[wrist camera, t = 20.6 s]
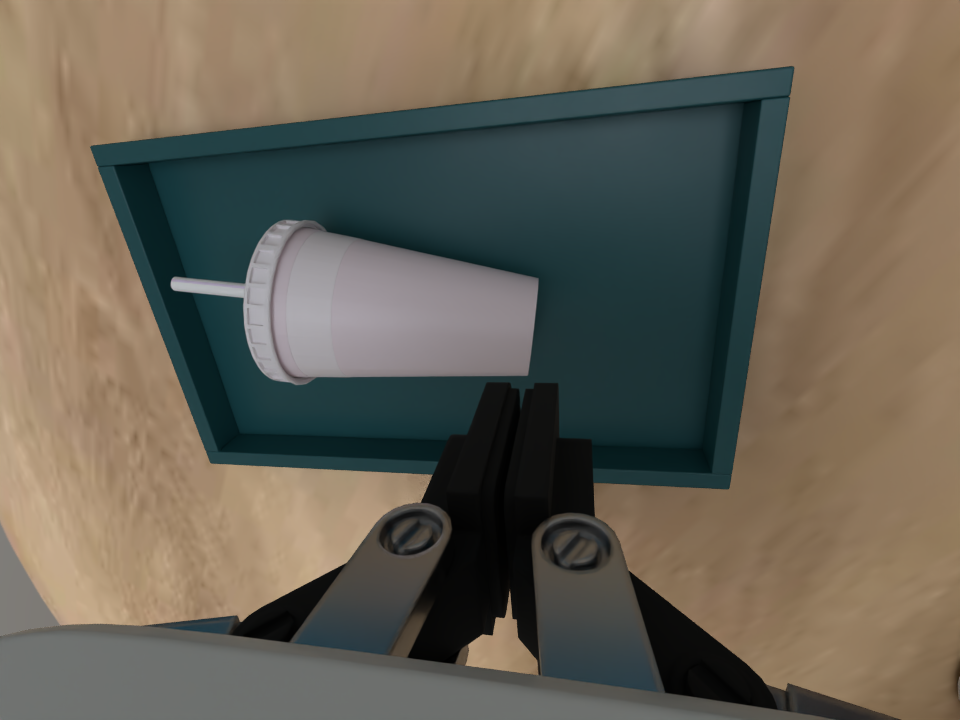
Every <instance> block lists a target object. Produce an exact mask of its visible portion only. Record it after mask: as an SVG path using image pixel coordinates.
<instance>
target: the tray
mask: <svg viewBox="0 0 960 720" xmlns="http://www.w3.org/2000/svg"><path fill="white" fill-rule="evenodd" d="M793 73H794V67H793V66H789V67H781V68H772V69H763V70H754V71H745V72H737V73H728V74H719V75H710V76H701V77H693V78H684V79H675V80H666V81H657V82H648V83H640V84H631V85H622V86H613V87H604V88H596V89H587V90H578V91H569V92H560V93H552V94H543V95H534V96H525V97H516V98H508V99H499V100H490V101H481V102H472V103H463V104H455V105H446V106H437V107H428V108H419V109H411V110H402V111H393V112H384V113H375V114H367V115H358V116H349V117H340V118H331V119H323V120H314V121H305V122H296V123H287V124H278V125H270V126H261V127H252V128H243V129H234V130H226V131H217V132H208V133H199V134H190V135H182V136H173V137H164V138H155V139H146V140H138V141H129V142H120V143H111V144H102V145H94V146H91V147H90V148H91V151H92V153H93V156H94V158H95V161H96V164H97V166H98V169H99V172H100V175H101V177H102V180H103V183H104V185H105V188H106V190H107V193H108V196H109V198H110V201H111V204H112V206H113V209H114V211H115V214H116V217H117V219H118V222H119V225H120V227H121V230H122V232H123V235H124V238H125V240H126V243H127V246H128V248H129V251H130V253H131V256H132V259H133V261H134V264H135V267H136V269H137V272H138V274H139V277H140V280H141V282H142V285H143V288H144V290H145V293H146V296H147V298H148V301H149V303H150V306H151V309H152V311H153V314H154V317H155V319H156V322H157V324H158V327H159V330H160V332H161V335H162V338H163V340H164V343H165V345H166V348H167V351H168V353H169V356H170V359H171V361H172V364H173V366H174V369H175V372H176V374H177V377H178V380H179V382H180V385H181V387H182V390H183V393H184V395H185V398H186V401H187V403H188V406H189V408H190V411H191V414H192V416H193V419H194V422H195V424H196V427H197V429H198V432H199V435H200V437H201V440H202V443H203V445H204V448H205V450H206V453H207V455H208V458H209V461H210V463H212V464H232V465H252V466H272V467H292V468H312V469H332V470H352V471H372V472H392V473H412V474H432V475H433V473H434V471H435V469H436V466H437V464H438V462H439V459H440V457H441V455H442V452H443V450H444V448H445V445H446V443H447V441H448V439H449V437H450V435H452V434H461V435H467V433H468V431H469V428H470V425H471V423H472V420H473V417H474V415H475V412H476V409H477V407H478V404H479V401H480V399H481V396H482V393H483V391H484V388H485V385H486V383H487V382H510V383H511V388H519V391H520V406H521V408H522V403H523V398H524V393H525V389H534V384H535V383H558V386H559V436H560V438H580V439H592V460H593V483H611V484H631V485H651V486H671V487H691V488H711V489H729V488H730V482H731V474H732V470H733V463H734V457H735V450H736V444H737V437H738V431H739V424H740V418H741V411H742V405H743V398H744V392H745V385H746V379H747V373H748V366H749V360H750V353H751V347H752V340H753V334H754V327H755V321H756V314H757V308H758V301H759V295H760V288H761V282H762V276H763V269H764V263H765V256H766V250H767V243H768V237H769V230H770V224H771V217H772V211H773V204H774V198H775V191H776V185H777V178H778V172H779V166H780V159H781V153H782V146H783V140H784V133H785V127H786V120H787V114H788V107H789V101H790V97H788V96H790V93H791V86H792V80H793ZM282 220H294V221H303V220H311V221H316V222H317V223H319V224H320V225H321V226H323V227H324V228H325V229H326V231H327V232H330V233H335V234H340V235H345V236H350V237H355V238H360V239H363V240H367V241H372V242H376V243H381V244H385V245H390V246H394V247H399V248H403V249H408V250H413V251H417V252H422V253H426V254H431V255H435V256H440V257H444V258H449V259H454V260H458V261H463V262H467V263H472V264H476V265H481V266H485V267H490V268H494V269H499V270H504V271H508V272H513V273H517V274H522V275H526V276H531V277H535V278H539V282H538V294H537V304H536V314H535V323H534V332H533V340H532V349H531V357H530V364H529V371H528V376H428V377H316V378H315V379H314V380H312V381H311V382H309V383H307V384H303V385H295V384H293V383H291V382H282V381H275V380H272V379H270V378H269V377H267V376H266V375H265V374H264V373H263V372H262V371H261V370H260V369H259V367H258V366H257V364H256V362H255V360H254V359H253V357H252V354H251V351H250V348H249V345H248V342H247V337H246V332H245V327H244V313H243V303H244V298H239V297H230V296H220V295H210V294H201V293H191V292H182V291H174V290H173V289H172V287H171V280H172V278H174V277H184V278H194V279H204V280H213V281H223V282H233V283H243V284H245V282H246V276H247V271H248V268H249V265H250V261H251V258H252V255H253V253H254V251H255V249H256V247H257V244H258V242H259V241H260V239H261V238H262V237H263V235H264V234H265V232H266V231H267V230H268V229H269V228H270V227H271V226H273V225H274V224H275V223H277V222H279V221H282Z"/></svg>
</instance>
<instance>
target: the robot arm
mask: <svg viewBox="0 0 960 720" xmlns="http://www.w3.org/2000/svg"><path fill="white" fill-rule="evenodd" d="M509 591H510V593H511V605H512V617H513V619H517V628H518V638H519V639H520V640H521V641H522V643H523V644H524V645H525V646H526V647H527V649H528V650H529V651H530V652H531V653H532V655H533V656H534V657H535V658H536V659H537V663H538V675H531V674H524V673H516V672H509V671H501V670H494V669H486V668H479V667H471V666H465V665H466V662H467V657H468V652H469V648H468V644H469V643H471V642H472V641H474V640H475V639H476V638H478V637H479V636H481V635H482V634H485V635H493V630H494V624H495V619H496V617H499V618H505V615H506V610H507V604H508V597H509ZM958 698H959V700H960V677H959V680H958ZM0 720H900V719H897V718H894V717H891V716H888V715H885V714H882V713H879V712H875V711H872V710H869V709H866V708H863V707H860V706H857V705H854V704H851V703H848V702H844V701H841V700H838V699H835V698H832V697H829V696H826V695H823V694H820V693H817V692H813V691H810V690H807V689H804V688H801V687H798V686H795V685H792V684H789V683H788V684H787V688H786V691H784V690H781V689H778V688H775V687H772V686H769V685H766V684H765V683H764V681H763V680H762V678H760V677H759V676H758V675H757V674H756V673H755V672H754V671H753V670H752V669H751V668H750V667H749V666H748V665H747V664H746V663H745V662H743V661H742V660H741V659H740V658H738V657H737V656H736V655H735V654H733V653H732V652H731V651H730V650H728V649H727V648H726V647H724V646H723V645H722V644H721V643H719V642H718V641H717V640H716V639H714V638H713V637H712V636H711V635H709V634H708V633H707V632H706V631H704V630H703V629H702V628H700V627H699V626H698V625H697V624H695V623H694V622H693V621H692V620H690V619H689V618H688V617H687V616H685V615H684V614H683V613H681V612H680V611H679V610H678V609H676V608H675V607H674V606H673V605H671V604H670V603H669V602H668V601H666V600H665V599H664V598H663V597H661V596H660V595H659V594H657V593H656V592H655V591H654V590H652V589H651V588H650V587H649V586H647V585H646V584H645V583H644V582H642V581H641V580H640V579H639V578H637V577H636V576H635V575H633V574H632V573H631V572H630V571H628V568H627V564H626V561H625V558H624V554H623V551H622V548H621V544H620V541H619V539H618V538H617V536H616V534H615V532H614V531H613V530H612V529H611V528H610V527H609V526H608V525H607V524H606V523H604V522H603V521H601V520H599V519H597V518H596V517H595V510H594V485H593V460H592V439H580V438H560V436H559V386H558V383H535V384H534V389H525V393H524V398H523V403H522V408H521V406H520V391H519V388H511V383H510V382H487V383H486V385H485V388H484V391H483V393H482V396H481V399H480V401H479V404H478V407H477V409H476V412H475V415H474V417H473V420H472V423H471V425H470V428H469V431H468V433H467V435H461V434H452V435H450V437H449V439H448V441H447V443H446V445H445V448H444V450H443V452H442V455H441V457H440V459H439V462H438V464H437V466H436V469H435V471H434V473H433V476H432V478H431V480H430V483H429V485H428V487H427V490H426V492H425V494H424V497H423V499H422V501H421V503H413V504H406V505H403V506H400V507H398V508H395V509H393V510H391V511H390V512H388V513H387V514H385V515H383V517H382V518H381V519H380V520H379V521H378V522H377V523H376V524H375V525H374V527H373V528H372V529H371V531H370V532H369V533H368V535H367V536H366V538H365V539H364V540H363V542H362V543H361V544H360V546H359V547H358V549H357V550H356V551H355V553H354V554H353V555H352V557H351V558H350V560H349V561H348V562H347V563H346V564H344V565H342V566H340V567H338V568H336V569H334V570H332V571H330V572H328V573H326V574H325V575H323V576H321V577H319V578H317V579H315V580H313V581H311V582H309V583H307V584H305V585H303V586H301V587H300V588H298V589H296V590H294V591H292V592H290V593H288V594H286V595H284V596H282V597H280V598H278V599H277V600H275V601H273V602H271V603H269V604H267V605H265V606H263V607H261V608H260V609H258V610H257V611H255V612H254V613H252V614H251V615H249V616H248V617H247V618H246V619H245V620H244V621H243V622H240V621H239V618H238V616H237V615H236V616H227V617H218V618H209V619H200V620H190V621H181V622H172V623H163V624H154V625H144V626H134V625H115V624H77V625H62V626H53V627H45V628H37V629H29V630H25V631H20V632H16V633H12V634H8V635H3V636H0Z"/></svg>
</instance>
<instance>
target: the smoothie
mask: <svg viewBox="0 0 960 720" xmlns="http://www.w3.org/2000/svg"><path fill="white" fill-rule="evenodd" d="M538 282H539V278H535V277H531V276H526V275H522V274H517V273H513V272H508V271H504V270H499V269H494V268H490V267H485V266H481V265H476V264H472V263H467V262H463V261H458V260H454V259H449V258H444V257H440V256H435V255H431V254H426V253H422V252H417V251H413V250H408V249H403V248H399V247H394V246H390V245H385V244H381V243H376V242H372V241H367V240H363V239H360V238H355V237H350V236H345V235H340V234H335V233H330V232H327V231H326V229H325V228H324V227H323V226H321V225H320V224H319V223H317V222H316V221H311V220H303V221H294V220H282V221H279V222H277V223H275V224H274V225H273V226H271V227H270V228H269V229H268V230H267V231H266V232H265V234H264V235H263V237H262V238H261V239H260V241H259V242H258V244H257V247H256V249H255V251H254V253H253V255H252V258H251V261H250V265H249V268H248V271H247V276H246V282H245V284H243V283H233V282H223V281H213V280H204V279H194V278H184V277H174V278H172V280H171V287H172V289H173V290H174V291H182V292H191V293H201V294H210V295H220V296H230V297H239V298H244V303H243V313H244V327H245V332H246V337H247V342H248V345H249V348H250V351H251V354H252V357H253V359H254V360H255V362H256V364H257V366H258V367H259V369H260V370H261V371H262V372H263V373H264V374H265V375H266V376H267V377H269V378H270V379H272V380H275V381H282V382H291V383H293V384H295V385H303V384H307V383H309V382H311V381H312V380H314V379H315V378H316V377H428V376H528V371H529V364H530V357H531V349H532V340H533V332H534V323H535V314H536V304H537V294H538Z"/></svg>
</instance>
